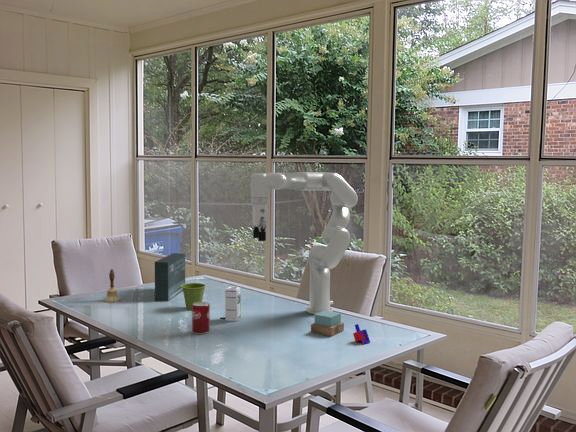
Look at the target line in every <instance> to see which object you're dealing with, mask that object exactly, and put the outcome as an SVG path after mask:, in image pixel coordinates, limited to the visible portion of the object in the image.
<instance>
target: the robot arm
mask: <svg viewBox="0 0 576 432" xmlns="http://www.w3.org/2000/svg"><path fill="white" fill-rule="evenodd" d="M269 190H276V191H279V190H294V191H303V192H305V191H306V192H307V191H308V192H309V191H312V192H313V191H321V192H322V191H323V192H324V191H325V192H326V191H327V192H328V191H329V192H331V193H330V196H329V200H330V203H331V205H332V214H331V216H330V219H329V220H328V222H327V224H326V226H325V228H324V229H323V231H322V233H321V241H322V242H323V243H324V244H325V245H326V246H325V245H320V244H318V245H314V246H313V247H311V248H310V249H309V252H308V258H307V259H308V264H309V265H308V266H309V307H307V308H306V310H305V311H306V313H308V314H310V315H315V314H317V313H320V312H322V311H330V312H334V309H333V308H332V307H331V305H333V304H334V301H333V300H331V295H330V294H331V293H330V292H331V271H330V270H331V269H334V268H336V267H337V266H338V265H339V263H340V261H341V260H342V258H343V256H344V255H345V253H346V250H347V249H348V248H349V245H350V242H351V234H350V232H349V230H348V229H346V228H347V226H348V224H349V222H350V218H351V211H350V209H351V208H354V207H355V206H357V204H358V201H359V198H358V197H359V196H358V194H357V192H356V191H355V190H354V188H353V187H352V186H351V185H350V184H349V183H348V182H347V181H346V180H345V179H344V178H343V177H342V175H340V174H338V173H336V172H327V171H326V172H325V171H322V172H319V171H315V172H313V171H299V172H298V171H295V172H267V173H264V172H257V173H256V172H255V173H252V174H251V175H250V205H252V217H251V218H252V219H251V220H252V225H253V226H252V238H253V239H258V240H257V241H259V242H265V241H266V240H267V229H266V228H267V227H268V226H269V220H268V218H269V217H268V215H269V214H268V204H269Z"/></svg>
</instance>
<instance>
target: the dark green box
mask: <svg viewBox="0 0 576 432" xmlns="http://www.w3.org/2000/svg"><path fill="white" fill-rule="evenodd" d="M183 284H186V253H180V252H179V253H178V252H177V253H175V252H173V253H171V254H169V255H166V256H165V257H162V258H160V259H158V260H156V261H154V302H170V301H171V300H172V299H174V298H175V297H177V296H178V295H180V294H181V293H182V292H183V289H182V287H181V285H183Z"/></svg>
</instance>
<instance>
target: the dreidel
mask: <svg viewBox="0 0 576 432" xmlns="http://www.w3.org/2000/svg"><path fill="white" fill-rule="evenodd" d="M354 327H355V331H356V332H353V333H352V334H353V339H354V341H355V343H356V342H360V341H361V343H362V345H364V344H365V345H366V344H369V343H371V340H370V337H369V335H368V330H367V329H362V330H361V328H360V326H359V324H354Z"/></svg>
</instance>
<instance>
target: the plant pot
mask: <svg viewBox="0 0 576 432" xmlns="http://www.w3.org/2000/svg"><path fill="white" fill-rule="evenodd" d="M206 286H207V285H206V284H205V283H201V282H189V283H185V284H183V285H181V287H182V289H183V291H182V292H183V298H184V303H185V309H186V310H189V311H192V304H193V303H196V302H203V299H204V292H205V289H206Z"/></svg>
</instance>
